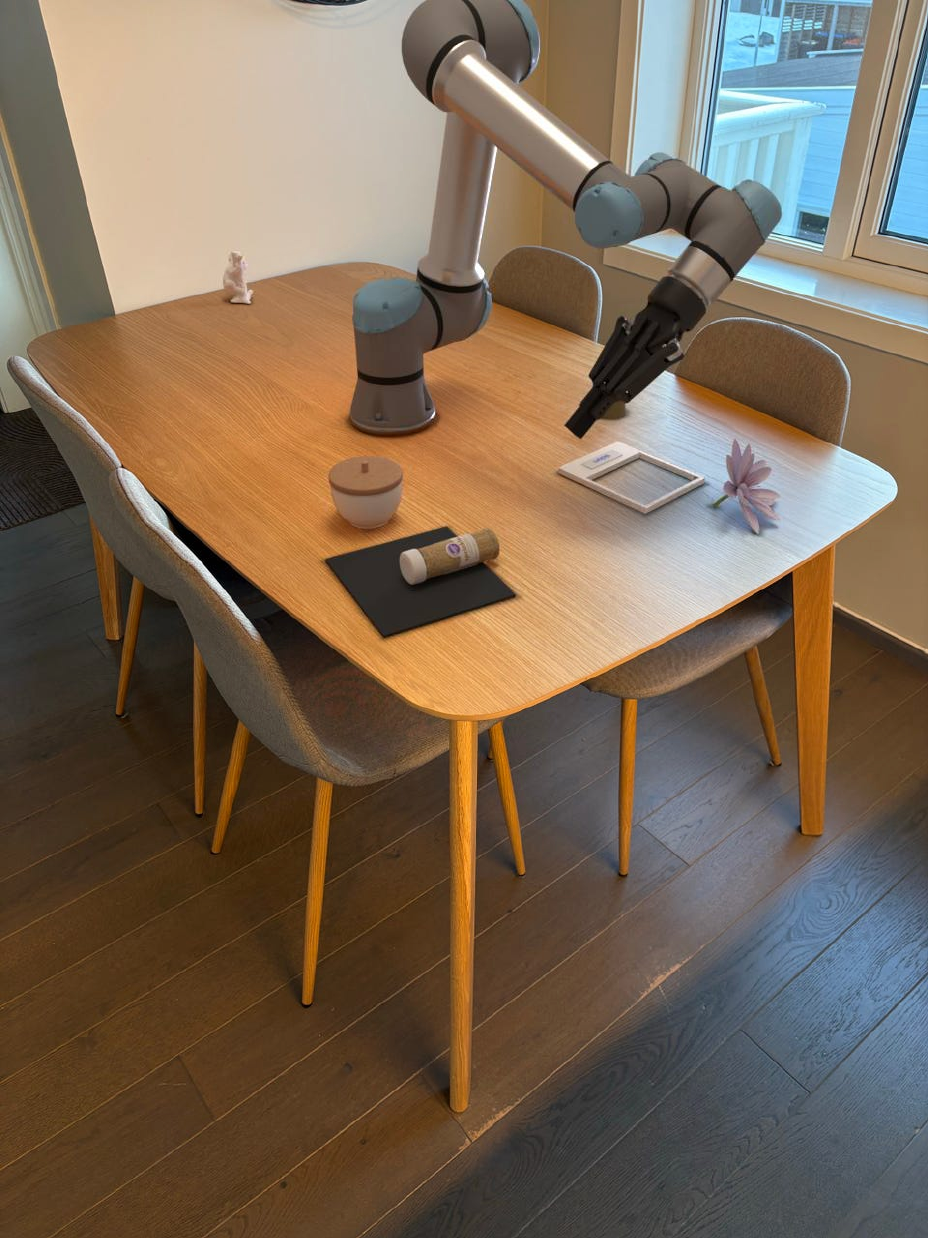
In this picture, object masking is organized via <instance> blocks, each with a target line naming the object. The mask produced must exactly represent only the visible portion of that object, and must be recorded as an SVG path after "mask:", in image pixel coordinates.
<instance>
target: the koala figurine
mask: <svg viewBox="0 0 928 1238" xmlns="http://www.w3.org/2000/svg"><path fill="white" fill-rule="evenodd" d="M246 259H247V258H246V257H245V256H244V255H242V254H241V251H240V250H231V251H230V254H228V262H229V264H228V265H227V267H226V268H225V270H224V274H223V277H222V286H223V289H224V291H225V292H226V293H228V294H235V295H233V296H232V299H230V302H231V303H236V304H237V303H240V304H248V305H249V304H252V302H251V299H252V295H253V293H254V290H252V289H249V290H248V286H247V281H246V270H247V269H248V267H249V265H248V264H247V261H246Z"/></svg>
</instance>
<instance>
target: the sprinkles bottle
mask: <svg viewBox="0 0 928 1238" xmlns="http://www.w3.org/2000/svg"><path fill="white" fill-rule="evenodd" d="M500 551H501V550H500V542H499V539H498V536H497V534H496V533H495V531H494V530H493V529H491V528H489V527H485V528H483V529H480V530H478V531H473V532H471V533H464V534H461V535H459V536H457V537H455V538H451V539H448V540H445V541H441V542H438V543H435V544H432V545H430V546H426V547H423V548H420V549H411V550H408V551H405V552H403V553H402V554H401V555H400V567H401V571H402V574H403V576H404V578H405V580H406V581H407V582H408V583H409V584H411V585H414V584H418V583H421V582H424V581H425V580H427V579H429V578H433V577H436V576H439V575H445V574H448V573H451V572H454V571H458V570H461V569H464V568H467V567H470V566H473V565H476V564H478V563H481V562H484V563H485V562H486V561H490V560H496V559H497V558H498V557H499V555H500Z"/></svg>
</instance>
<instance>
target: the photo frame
mask: <svg viewBox="0 0 928 1238" xmlns="http://www.w3.org/2000/svg"><path fill="white" fill-rule="evenodd" d="M637 459H642V460H644V461H646V462H649V463H651V464H653V465H655V466H658V467H660V468H662V469H665V470H668V471H669V472H671V473H675V474H677V475H680V476H681V477H684V478H686V479H688V480H691V481H690V482H687V483H686V484H684V485H682V486H679V487H678V488H676V489H674V490H672V491H670V492H668V493H666V494H664V495H662V496H660V497H659V498H657V499H655V500H653V501H650V502H649V503H647V504H643V503H641V502H639V501H637V500H635V499H632V498H631V497H628V496H626V495H624V494H622V493H619V492H617V491H615V490H613V489H611V488H609V487H607V486H604V485H602V484H600V483H598V482H595V481H594V480H595V479H597V478H599V477H602V476H603V475H605V474H608V473H610V472H612V471H614V470H616V469H618V468H620V467H622V466H625V465H626V464H629V463H631V462H633V461H635V460H637ZM557 473H558V474H559V475H562V476H564V477H566V478H568V479H570V480H572V481H574V482H577V483H579V484H581V485H583V486H585V487H587V488H589V489H591V490H594V491H596V492H598V493H600V494H602V495H603V496H606V497H608V498H611V499H612V500H615V501H617V502H619V503H621V504H623V505H626V506H628V507H630V508H632V509H634V510H636V511H638V512H640V513H643V514H645V515H646V514H648V513H649V512H652V511H654V510H656V509H657V508H660V507H661V506H663V505H665V504H667V503H669V502H671V501H673V500H675V499H677V498H678V497H680V496H682V495H684V494H687V493H688V492H690V491H692V490H694V489H696V488H697V487H699V486H701V485H703V484H705V481H706V477H705V476H703V475H700V474H697V473H695V472H693V471H690V470H688V469H686V468H684V467H681V466H678V465H676V464H673V463H671V462H669V461H666V460H663V459H661V458H659V457H657V456H654V455H652V454H650V453H648V452H645V451H643V450H640V449H638V448H635V447H633V446H631V445H629V444H626V443H623V442H621V441H620V440H619V441H618V440H616V441H613V442H612V443H610V444H608V445H606V446H605V445H604V446H603V447H601V448H599V449H596V450H594V451H592V452H590V453H588V454H586V455H583V456H580V457H578V458H576V459H574V460H572V461H570V462H567V463H565V464H562V465H561V466H558V468H557Z"/></svg>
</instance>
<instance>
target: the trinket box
mask: <svg viewBox="0 0 928 1238" xmlns="http://www.w3.org/2000/svg"><path fill="white" fill-rule="evenodd" d="M327 475H328V477H327V478H328V483H329V486H330V487H329V488H330V494H331V499H332V502H333V505H334V507H335V509H336V511H337V512H338V513H339V515H340V516H341V517H342V519H344V520H345V521H347V522H348V523H349V524H350V525H351V526H352V527H353V528H354V527H355V528H357V529H360V530H361V529H362V530H372V529H379V528H380V527H383V526H385V525H386V524H387V523H388V522H389V520H390V519H392V518H393V517H394V515H395V514H396V513H397V511H398V510H399V508H400V504H401V502H402V496H403V478H404V473H403V469H402V466H401V465H400V464H399V463H397V461H394V460H392V459H390V458H387V457H382V456H378V455H376V456H375V455H361V456H355V457H350V458H347V459H344V460H341V461H339V462H337V463H335V464H334V465H333V466H332V467H331V468H330V470H329V471H328V473H327Z"/></svg>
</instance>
